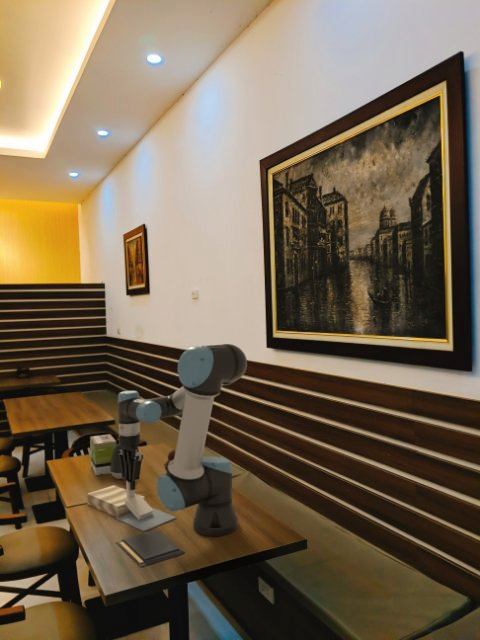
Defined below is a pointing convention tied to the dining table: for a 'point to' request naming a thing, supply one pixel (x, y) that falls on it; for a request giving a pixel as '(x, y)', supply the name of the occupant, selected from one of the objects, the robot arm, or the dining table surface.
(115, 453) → the pump dispenser
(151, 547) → the dark grey flat slab
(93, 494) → the riser
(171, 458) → the ice cream bowl
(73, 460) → the dining table surface
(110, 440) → the tea box
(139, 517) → the cream rectangular block
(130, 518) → the mat
